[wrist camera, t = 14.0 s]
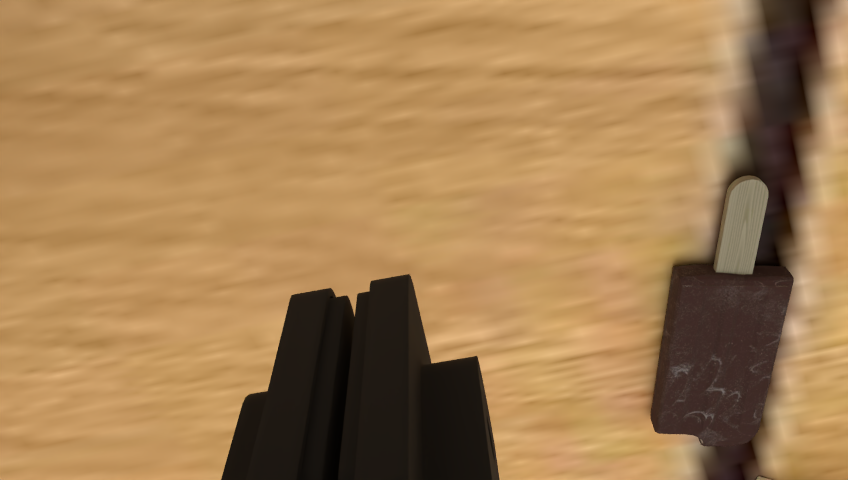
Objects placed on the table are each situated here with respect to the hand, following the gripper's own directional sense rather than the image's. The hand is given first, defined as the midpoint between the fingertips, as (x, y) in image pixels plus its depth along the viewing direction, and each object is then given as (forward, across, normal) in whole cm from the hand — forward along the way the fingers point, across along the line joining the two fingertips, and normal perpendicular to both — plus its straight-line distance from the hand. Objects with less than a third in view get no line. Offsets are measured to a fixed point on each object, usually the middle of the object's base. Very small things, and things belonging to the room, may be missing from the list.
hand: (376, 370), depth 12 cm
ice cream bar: (+25, -13, +18) cm, 33 cm away
